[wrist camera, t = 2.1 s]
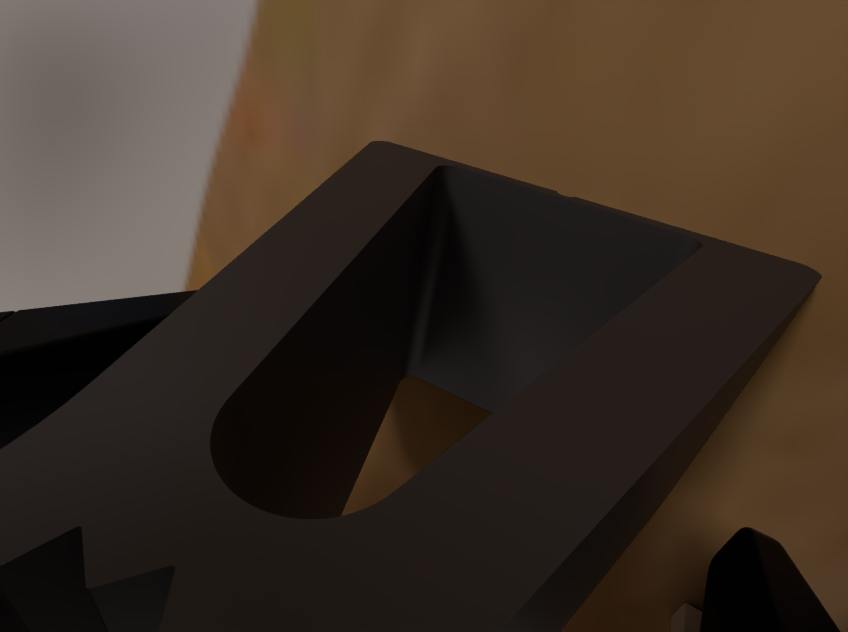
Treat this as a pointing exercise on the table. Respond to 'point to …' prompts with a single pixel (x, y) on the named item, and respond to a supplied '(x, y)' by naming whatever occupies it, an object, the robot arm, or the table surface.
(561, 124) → the table surface
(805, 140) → the table surface
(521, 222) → the phone stand
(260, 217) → the table surface
